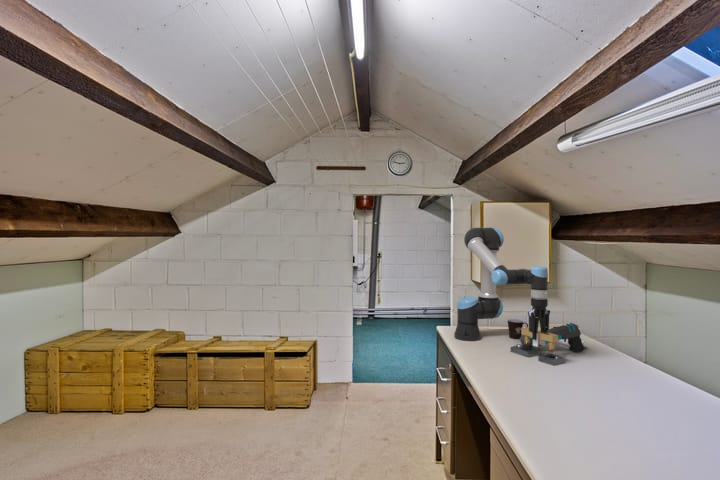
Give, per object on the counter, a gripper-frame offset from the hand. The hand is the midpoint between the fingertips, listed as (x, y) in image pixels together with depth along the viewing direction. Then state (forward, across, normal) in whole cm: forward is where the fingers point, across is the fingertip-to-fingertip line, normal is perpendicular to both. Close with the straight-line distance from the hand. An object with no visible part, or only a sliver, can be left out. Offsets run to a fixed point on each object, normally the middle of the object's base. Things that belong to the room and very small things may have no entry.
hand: (538, 345), depth 201 cm
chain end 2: (+6, 0, -7) cm, 9 cm away
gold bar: (+1, 0, 0) cm, 1 cm away
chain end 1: (+6, 0, +9) cm, 11 cm away
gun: (+7, +17, +6) cm, 19 cm away
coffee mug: (+6, +22, +32) cm, 39 cm away
